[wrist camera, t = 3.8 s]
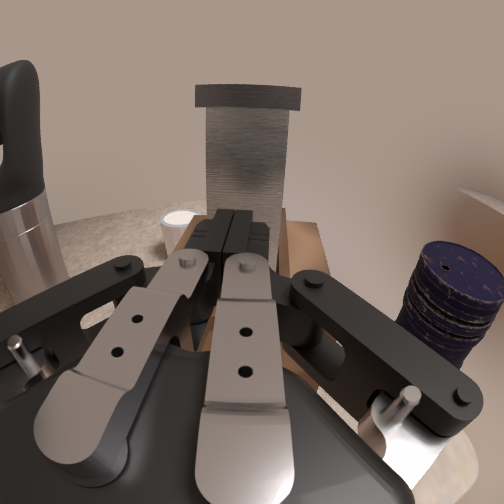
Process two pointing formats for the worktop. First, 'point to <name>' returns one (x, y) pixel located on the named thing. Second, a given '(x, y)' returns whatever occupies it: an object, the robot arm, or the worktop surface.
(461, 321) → the dark blue ribbed barrel
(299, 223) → the shelf
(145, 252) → the worktop surface
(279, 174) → the grey metal tall block
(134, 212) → the worktop surface
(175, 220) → the white cylinder
